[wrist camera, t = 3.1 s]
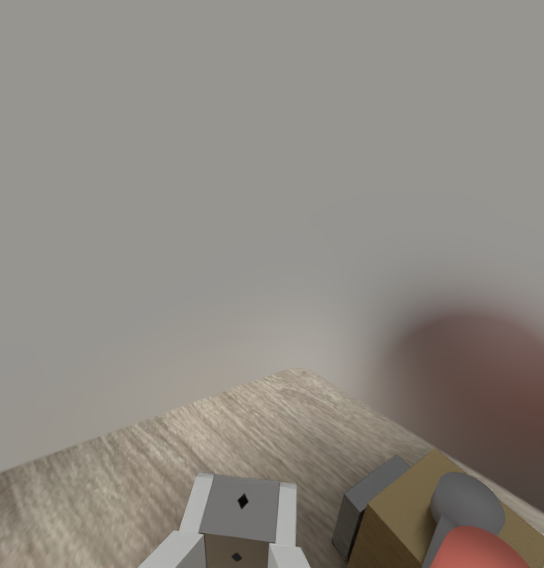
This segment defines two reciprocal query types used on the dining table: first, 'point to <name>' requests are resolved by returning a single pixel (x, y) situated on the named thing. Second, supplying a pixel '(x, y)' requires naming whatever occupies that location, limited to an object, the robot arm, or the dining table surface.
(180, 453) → the dining table surface
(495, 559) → the lever
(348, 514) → the lever valve base
